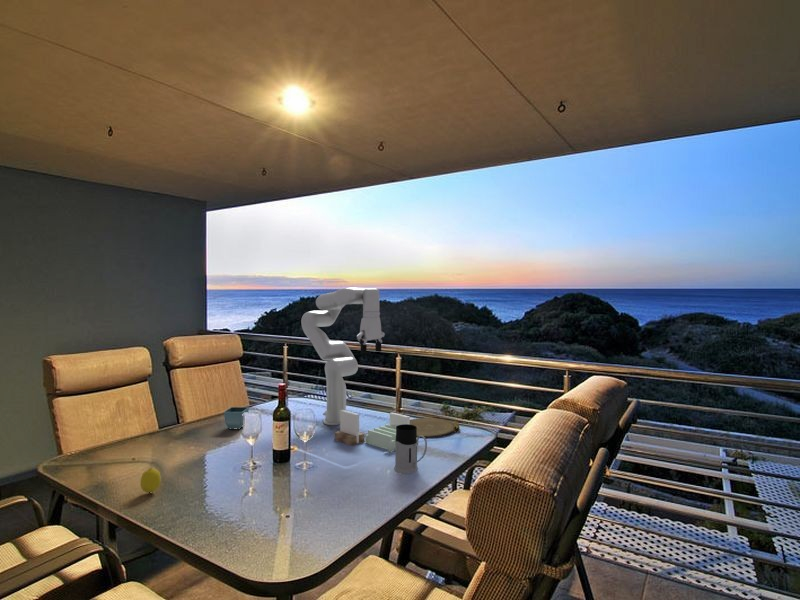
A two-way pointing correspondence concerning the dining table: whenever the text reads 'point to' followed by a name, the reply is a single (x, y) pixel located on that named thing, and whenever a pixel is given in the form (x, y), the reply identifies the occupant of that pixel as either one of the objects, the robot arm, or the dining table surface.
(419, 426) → the decorative disc
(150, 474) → the lemon
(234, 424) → the flower pot
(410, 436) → the grey black mug
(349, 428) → the tall white panel
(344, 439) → the stand
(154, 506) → the dining table surface
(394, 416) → the rack
